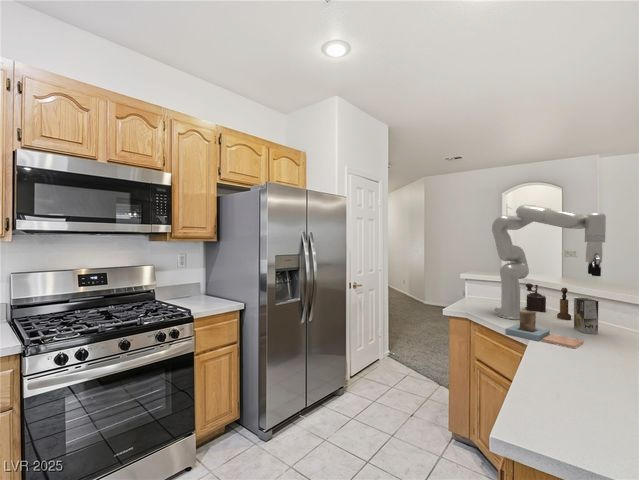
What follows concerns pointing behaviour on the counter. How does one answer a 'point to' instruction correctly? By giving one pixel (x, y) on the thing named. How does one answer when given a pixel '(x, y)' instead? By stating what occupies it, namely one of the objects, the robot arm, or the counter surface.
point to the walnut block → (527, 321)
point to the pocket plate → (527, 333)
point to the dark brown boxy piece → (535, 300)
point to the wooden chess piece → (564, 307)
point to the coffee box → (586, 315)
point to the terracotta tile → (563, 341)
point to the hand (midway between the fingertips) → (594, 275)
